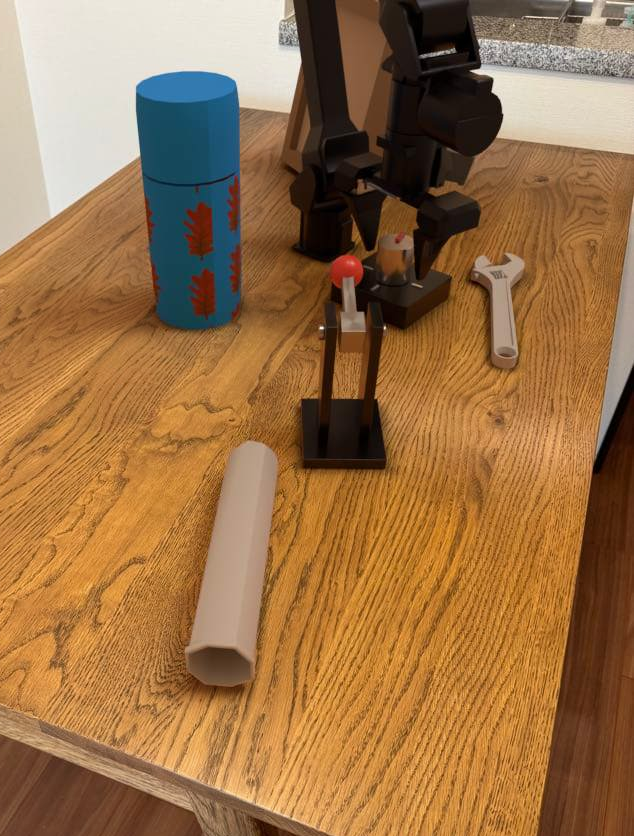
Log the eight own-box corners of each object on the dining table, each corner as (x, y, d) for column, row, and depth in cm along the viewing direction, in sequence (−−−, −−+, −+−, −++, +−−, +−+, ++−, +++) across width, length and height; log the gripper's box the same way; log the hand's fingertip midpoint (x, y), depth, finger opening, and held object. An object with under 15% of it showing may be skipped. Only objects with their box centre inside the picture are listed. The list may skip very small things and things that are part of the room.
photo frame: (348, 214, 116) (365, 16, 98) (280, 165, 130) (284, -16, 112) (431, 195, 120) (462, 2, 102) (356, 149, 134) (372, -28, 116)
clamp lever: (328, 276, 78) (330, 247, 76) (360, 276, 78) (363, 247, 76) (333, 356, 71) (336, 327, 69) (368, 356, 71) (372, 327, 68)
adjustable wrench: (516, 372, 87) (520, 358, 86) (457, 364, 88) (460, 350, 87) (522, 266, 103) (525, 254, 102) (472, 261, 105) (475, 249, 103)
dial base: (330, 300, 98) (331, 277, 96) (375, 271, 103) (378, 248, 101) (403, 330, 93) (407, 306, 91) (448, 298, 98) (452, 274, 96)
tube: (219, 435, 73) (172, 648, 56) (273, 424, 72) (241, 640, 54) (238, 477, 77) (199, 690, 59) (290, 467, 75) (265, 684, 58)
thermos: (255, 296, 100) (255, 76, 82) (219, 338, 93) (211, 108, 75) (179, 280, 103) (164, 66, 85) (139, 319, 96) (113, 95, 78)
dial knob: (403, 288, 94) (409, 250, 90) (368, 281, 95) (373, 243, 92) (415, 272, 97) (421, 235, 93) (381, 265, 98) (385, 228, 95)
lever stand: (300, 407, 83) (306, 286, 73) (376, 407, 83) (392, 286, 73) (302, 468, 76) (310, 344, 66) (385, 469, 76) (405, 344, 66)
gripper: (532, 134, 81) (499, 276, 92) (411, 90, 92) (394, 221, 103) (453, 158, 77) (428, 303, 88) (336, 109, 88) (327, 243, 99)
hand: (394, 264), depth 95 cm, fingers open, 9 cm apart
